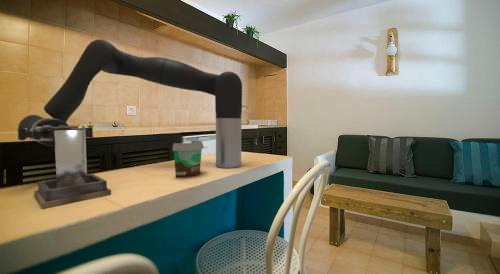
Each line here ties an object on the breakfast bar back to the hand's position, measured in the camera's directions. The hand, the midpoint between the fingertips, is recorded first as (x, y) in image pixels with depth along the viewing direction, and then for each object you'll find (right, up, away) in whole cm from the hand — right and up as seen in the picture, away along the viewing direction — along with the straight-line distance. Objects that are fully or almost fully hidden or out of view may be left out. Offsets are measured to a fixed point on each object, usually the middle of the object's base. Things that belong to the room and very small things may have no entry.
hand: (63, 134), depth 53 cm
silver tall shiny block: (+5, -12, -3) cm, 14 cm away
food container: (+26, -12, +17) cm, 33 cm away
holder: (+5, -13, -4) cm, 15 cm away
